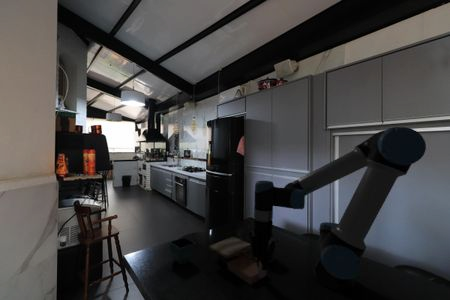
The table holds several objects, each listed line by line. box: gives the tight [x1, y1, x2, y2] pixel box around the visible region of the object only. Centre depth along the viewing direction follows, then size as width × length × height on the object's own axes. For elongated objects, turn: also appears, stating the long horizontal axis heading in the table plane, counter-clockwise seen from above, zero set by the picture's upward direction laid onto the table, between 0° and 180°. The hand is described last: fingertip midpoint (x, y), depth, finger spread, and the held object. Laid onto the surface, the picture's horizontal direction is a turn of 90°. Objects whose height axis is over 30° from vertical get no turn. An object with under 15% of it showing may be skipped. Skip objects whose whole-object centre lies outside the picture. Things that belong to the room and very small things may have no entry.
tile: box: [226, 255, 268, 286], centre depth 92 cm, size 14×10×4 cm
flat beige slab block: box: [208, 236, 252, 263], centre depth 99 cm, size 12×16×8 cm
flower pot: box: [169, 236, 196, 266], centre depth 99 cm, size 9×9×9 cm
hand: (261, 276), depth 86 cm, fingers closed
